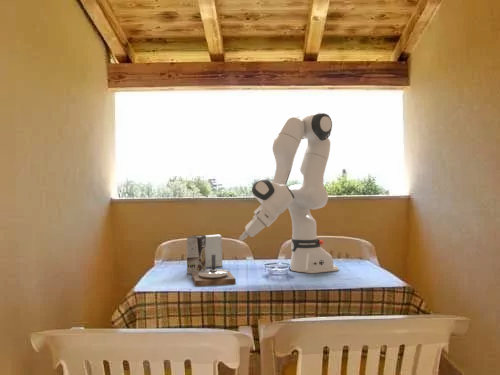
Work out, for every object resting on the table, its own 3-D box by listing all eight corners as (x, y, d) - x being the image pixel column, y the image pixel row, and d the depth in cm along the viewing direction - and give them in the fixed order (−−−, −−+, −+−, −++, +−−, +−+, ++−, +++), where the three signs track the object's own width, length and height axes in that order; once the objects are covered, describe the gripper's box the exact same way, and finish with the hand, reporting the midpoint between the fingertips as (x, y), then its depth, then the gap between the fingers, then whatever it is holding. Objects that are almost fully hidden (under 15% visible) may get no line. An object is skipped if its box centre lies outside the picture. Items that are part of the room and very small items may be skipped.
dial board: (229, 275, 195) (229, 270, 195) (235, 283, 180) (235, 278, 180) (192, 277, 191) (192, 272, 191) (195, 285, 177) (195, 280, 176)
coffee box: (200, 274, 197) (200, 237, 197) (186, 273, 199) (186, 237, 198) (206, 270, 206) (206, 235, 206) (193, 269, 208) (192, 234, 207)
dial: (227, 278, 179) (227, 258, 179) (197, 278, 179) (197, 258, 179) (228, 272, 191) (227, 253, 191) (199, 272, 191) (199, 253, 191)
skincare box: (220, 264, 220) (220, 234, 220) (222, 266, 214) (222, 235, 214) (203, 265, 218) (203, 234, 218) (205, 267, 212) (204, 236, 212)
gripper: (257, 210, 199) (234, 231, 199) (259, 213, 179) (234, 237, 179) (267, 220, 199) (244, 242, 199) (270, 224, 179) (245, 248, 179)
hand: (240, 239), depth 189 cm, fingers closed
